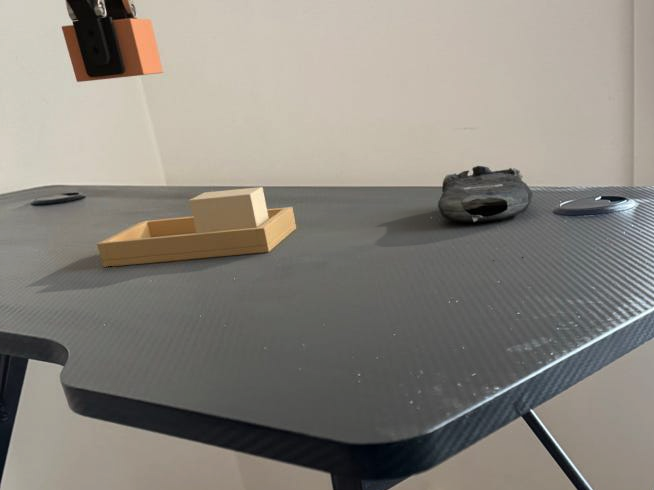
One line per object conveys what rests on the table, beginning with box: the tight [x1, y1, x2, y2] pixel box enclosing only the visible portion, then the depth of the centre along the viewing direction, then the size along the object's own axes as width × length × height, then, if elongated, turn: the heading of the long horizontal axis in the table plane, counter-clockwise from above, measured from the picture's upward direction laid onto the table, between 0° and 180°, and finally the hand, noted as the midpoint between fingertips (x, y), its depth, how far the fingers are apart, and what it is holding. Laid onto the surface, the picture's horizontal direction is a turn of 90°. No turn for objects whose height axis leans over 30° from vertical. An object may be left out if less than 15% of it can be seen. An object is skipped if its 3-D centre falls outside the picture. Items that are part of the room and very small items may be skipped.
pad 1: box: [61, 18, 164, 83], centre depth 80 cm, size 6×5×4 cm
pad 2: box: [188, 186, 269, 233], centre depth 91 cm, size 6×5×4 cm
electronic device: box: [437, 165, 533, 224], centre depth 93 cm, size 9×6×15 cm
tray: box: [96, 206, 297, 268], centre depth 92 cm, size 16×13×2 cm
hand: (119, 71), depth 81 cm, fingers closed on pad 1, 5 cm apart
